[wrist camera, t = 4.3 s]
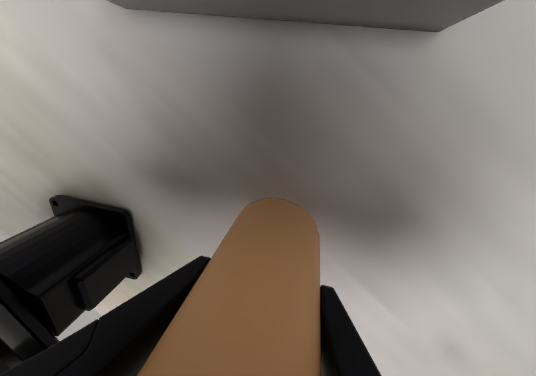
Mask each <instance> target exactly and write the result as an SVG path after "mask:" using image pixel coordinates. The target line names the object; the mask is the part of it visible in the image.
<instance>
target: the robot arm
mask: <svg viewBox="0 0 536 376" xmlns="http://www.w3.org/2000/svg"><path fill="white" fill-rule="evenodd" d="M49 201H50V204H51V207H52V210H53V213H54V217H52V218H50V219H48V220H46V221H44V222H42V223H40V224H38V225H36V226H34V227H32V228H29V229H27V230H25V231H23V232H21V233H19V234H17V235H15V236H13V237H11V238H9V239H7V240H5V241H3V242H0V376H137V375H138V373H139V372H140V370H141V369H142V367H143V365H144V364H145V362H146V361H147V359H148V358H149V356H150V354H151V353H152V351H153V350H154V348H155V346H156V345H157V343H158V342H159V340H160V339H161V337H162V335H163V334H164V332H165V331H166V329H167V328H168V326H169V324H170V323H171V321H172V320H173V318H174V317H175V315H176V313H177V312H178V310H179V309H180V307H181V305H182V304H183V302H184V301H185V299H186V298H187V296H188V294H189V293H190V291H191V290H192V288H193V287H194V285H195V283H196V282H197V280H198V279H199V277H200V275H201V274H202V272H203V271H204V269H205V268H206V266H207V264H208V263H209V261H210V260H211V258H209V257H205V256H200V257H198V258H196V259H195V260H193V261H191V262H190V263H188V264H186V265H185V266H183V267H182V268H180V269H178V270H177V271H175V272H173V273H172V274H170V275H168V276H167V277H165V278H164V279H162V280H160V281H159V282H157V283H155V284H154V285H152V286H151V287H149V288H147V289H146V290H144V291H142V292H141V293H139V294H138V295H136V296H134V297H133V298H131V299H129V300H128V301H126V302H124V303H123V304H121V305H120V306H118V307H116V308H115V309H113V310H111V311H110V312H108V313H107V314H105V315H103V316H102V317H100V318H99V320H98V319H97V320H95V321H93V322H92V323H90V324H88V325H87V326H85V327H84V328H82V329H81V330H79V331H77V332H75V333H73V334H72V335H70V336H68V337H67V338H65V339H63V340H62V341H59V340H58V339H57V338H56V337H55V336H59V335H60V334H61V333H62V332H63V331H64V330H65V329H66V328H67V327H68V326H69V325H70V324H71V323H73V321H75V320H76V319H77V318H78V317H79V316H80V315H81V314H82V313H83V312H84V311H85V310H87V311H90V310H92V309H93V308H95V307H96V306H97V305H98V304H99V303H100V302H101V301H102V300H103V299H104V298H105V297H106V296H107V295H108V294H109V293H110V292H111V291H112V290H113V289H114V288H115V287H116V286H117V285H118V284H119V283H120V282H121V281H122V280H123V279H124V278H125V277H127V278H131V279H137V278H138V277H139V276H140V275H141V269H140V264H139V258H138V253H137V248H136V242H135V237H134V232H133V227H132V221H131V216H130V214H129V213H128V212H127V211H126V210H124V209H119V208H115V207H110V206H106V205H101V204H97V203H92V202H88V201H83V200H79V199H74V198H69V197H65V196H60V195H56V196H54V197H51V198H50V199H49ZM320 327H321V376H381V374H380V372H379V371H378V369H377V367H376V365H375V363H374V361H373V360H372V358H371V356H370V354H369V352H368V350H367V349H366V347H365V345H364V343H363V341H362V339H361V338H360V336H359V334H358V332H357V330H356V328H355V327H354V325H353V323H352V321H351V319H350V317H349V316H348V314H347V312H346V310H345V308H344V306H343V305H342V303H341V301H340V299H339V297H338V295H337V294H336V292H335V290H334V288H332V287H329V286H325V285H321V287H320Z"/></svg>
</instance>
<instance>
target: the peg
mask: <svg viewBox="0 0 536 376" xmlns="http://www.w3.org/2000/svg"><path fill="white" fill-rule="evenodd" d="M137 376H321V327H320V236H319V231H318V228H317V225H316V223H315V221H314V220H313V218H312V217H311V216H310V215H309V214H308V213H307V212H306V211H305V210H304V209H303V208H301V207H300V206H298V205H296V204H294V203H292V202H289V201H286V200H282V199H276V198H268V199H262V200H258V201H255V202H253V203H251V204H249V205H248V206H246V207H245V208H244V209H243V210H242V211H241V213H240V214H239V216H238V217H237V219H236V220H235V222H234V223H233V225H232V227H231V228H230V230H229V231H228V233H227V234H226V236H225V238H224V239H223V241H222V242H221V244H220V246H219V247H218V249H217V250H216V252H215V253H214V255H213V257H212V258H211V260H210V261H209V263H208V264H207V266H206V268H205V269H204V271H203V272H202V274H201V275H200V277H199V279H198V280H197V282H196V283H195V285H194V287H193V288H192V290H191V291H190V293H189V294H188V296H187V298H186V299H185V301H184V302H183V304H182V305H181V307H180V309H179V310H178V312H177V313H176V315H175V317H174V318H173V320H172V321H171V323H170V324H169V326H168V328H167V329H166V331H165V332H164V334H163V335H162V337H161V339H160V340H159V342H158V343H157V345H156V346H155V348H154V350H153V351H152V353H151V354H150V356H149V358H148V359H147V361H146V362H145V364H144V365H143V367H142V369H141V370H140V372H139V373H138V375H137Z"/></svg>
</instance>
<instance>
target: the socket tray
mask: <svg viewBox="0 0 536 376" xmlns="http://www.w3.org/2000/svg"><path fill="white" fill-rule="evenodd" d="M107 1H109V2H112V3H114V4H116V5H119V6H121V7H123V8H127V9H140V10H153V11H166V12H179V13H193V14H206V15H219V16H232V17H245V18H259V19H272V20H285V21H298V22H311V23H325V24H338V25H351V26H364V27H378V28H391V29H404V30H417V31H430V32H439V31H441V30H443V29H445V28H447V27H450V26H452V25H454V24H456V23H458V22H460V21H462V20H464V19H466V18H468V17H470V16H472V15H474V14H477V13H479V12H481V11H483V10H485V9H487V8H489V7H491V6H493V5H495V4H497V3H499V2H501V1H503V0H107Z"/></svg>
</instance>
